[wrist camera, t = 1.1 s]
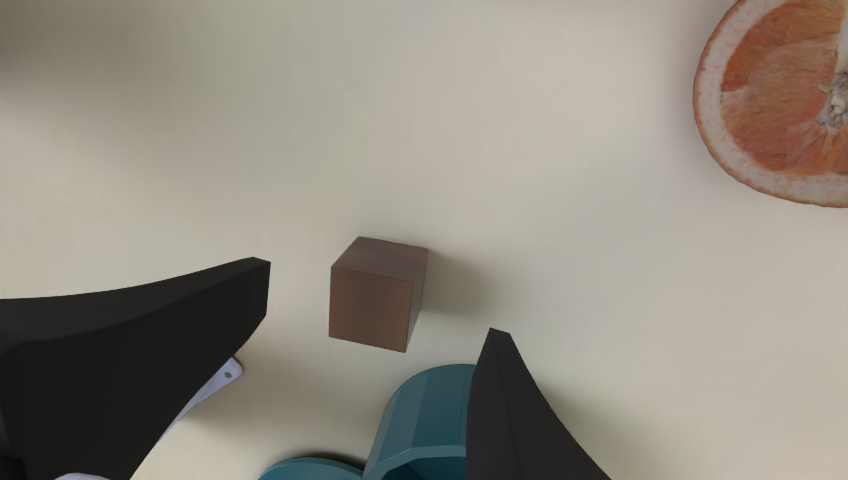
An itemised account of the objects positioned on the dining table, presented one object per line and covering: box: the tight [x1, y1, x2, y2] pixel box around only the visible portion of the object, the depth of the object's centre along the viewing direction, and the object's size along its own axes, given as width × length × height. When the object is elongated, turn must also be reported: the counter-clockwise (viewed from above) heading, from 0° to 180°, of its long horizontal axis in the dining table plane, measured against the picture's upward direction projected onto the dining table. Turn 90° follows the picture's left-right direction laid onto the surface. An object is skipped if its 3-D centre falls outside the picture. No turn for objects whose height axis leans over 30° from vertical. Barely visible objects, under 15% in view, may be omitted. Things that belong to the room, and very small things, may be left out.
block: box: [329, 237, 428, 353], centre depth 21 cm, size 4×4×4 cm
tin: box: [361, 364, 476, 480], centre depth 24 cm, size 11×11×6 cm
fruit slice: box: [693, 0, 848, 208], centre depth 14 cm, size 8×7×5 cm
